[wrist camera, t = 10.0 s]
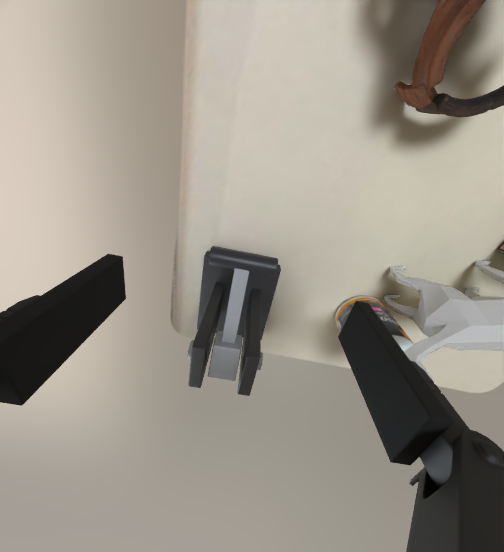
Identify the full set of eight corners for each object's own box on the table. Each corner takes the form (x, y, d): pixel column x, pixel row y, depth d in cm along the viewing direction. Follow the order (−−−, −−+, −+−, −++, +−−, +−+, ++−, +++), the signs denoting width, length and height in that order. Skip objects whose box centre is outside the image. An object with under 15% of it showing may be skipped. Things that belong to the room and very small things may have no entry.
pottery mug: (569, -31, 15) (687, -4, 11) (415, 108, 22) (448, 159, 18) (494, -280, 10) (662, -422, 6) (325, 5, 17) (341, 41, 13)
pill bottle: (392, 300, 26) (457, 372, 18) (368, 336, 29) (414, 415, 20) (346, 288, 26) (389, 356, 17) (325, 326, 29) (354, 402, 20)
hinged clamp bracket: (207, 250, 25) (171, 311, 15) (280, 264, 25) (291, 333, 15) (199, 323, 29) (168, 404, 20) (261, 333, 30) (260, 419, 20)
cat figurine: (516, 291, 25) (763, 423, 13) (330, 303, 27) (389, 430, 15) (535, 253, 23) (850, 366, 11) (332, 268, 25) (403, 382, 12)
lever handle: (214, 244, 18) (209, 247, 16) (275, 256, 19) (279, 261, 16) (196, 356, 20) (190, 374, 18) (252, 366, 21) (252, 384, 18)
